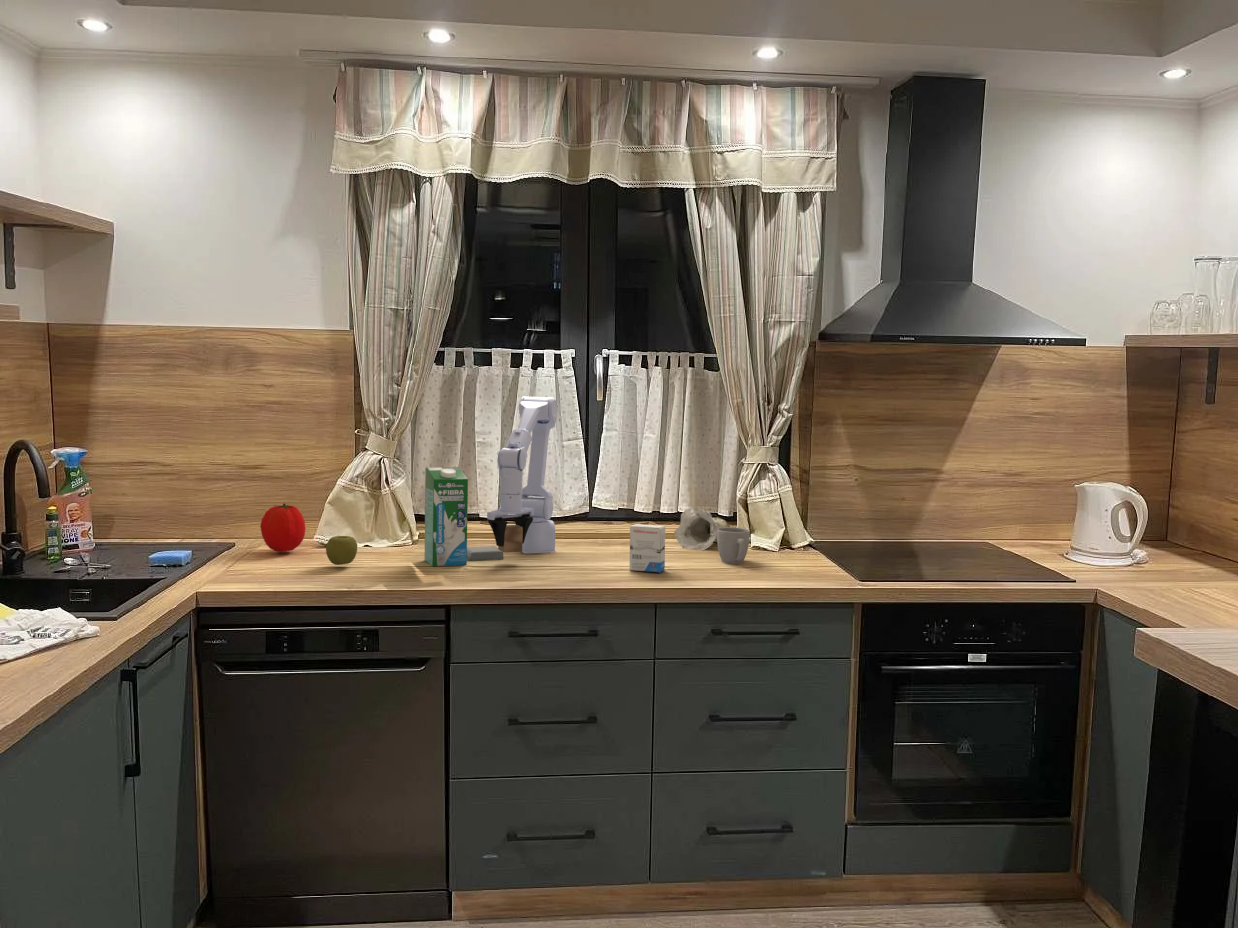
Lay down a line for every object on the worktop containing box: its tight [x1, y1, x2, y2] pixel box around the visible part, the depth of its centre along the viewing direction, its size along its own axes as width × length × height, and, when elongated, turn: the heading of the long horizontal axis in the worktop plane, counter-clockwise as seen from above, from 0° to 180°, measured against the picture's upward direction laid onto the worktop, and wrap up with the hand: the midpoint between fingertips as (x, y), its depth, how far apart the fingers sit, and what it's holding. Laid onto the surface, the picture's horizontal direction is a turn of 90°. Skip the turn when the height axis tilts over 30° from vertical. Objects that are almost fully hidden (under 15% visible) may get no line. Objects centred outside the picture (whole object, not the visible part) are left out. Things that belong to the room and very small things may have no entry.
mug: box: [717, 526, 751, 565], centre depth 252 cm, size 12×9×10 cm
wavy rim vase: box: [673, 507, 731, 551], centre depth 277 cm, size 12×13×18 cm
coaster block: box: [467, 545, 504, 562], centre depth 255 cm, size 9×9×3 cm
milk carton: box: [423, 466, 469, 568], centre depth 244 cm, size 9×9×25 cm
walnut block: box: [497, 524, 523, 554], centre depth 245 cm, size 5×5×6 cm
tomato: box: [260, 502, 306, 552], centre depth 254 cm, size 12×12×13 cm
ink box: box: [629, 523, 666, 573], centre depth 243 cm, size 9×5×12 cm, turn 71°
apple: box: [325, 535, 358, 566], centre depth 239 cm, size 8×8×7 cm
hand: (510, 544), depth 245 cm, fingers closed on walnut block, 6 cm apart
